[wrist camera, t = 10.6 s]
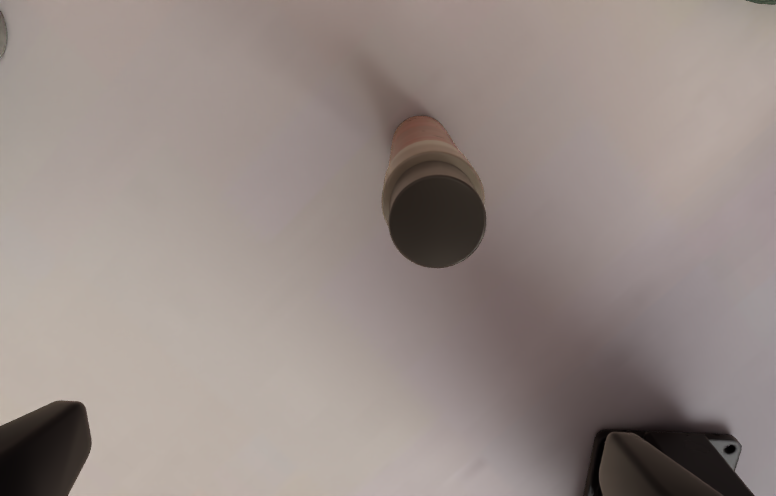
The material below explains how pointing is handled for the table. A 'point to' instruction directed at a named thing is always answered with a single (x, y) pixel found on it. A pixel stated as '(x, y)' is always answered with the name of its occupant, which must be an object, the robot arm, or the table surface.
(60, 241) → the table surface
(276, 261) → the table surface
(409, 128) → the capped glue stick
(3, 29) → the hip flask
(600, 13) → the table surface
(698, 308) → the table surface
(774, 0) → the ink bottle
